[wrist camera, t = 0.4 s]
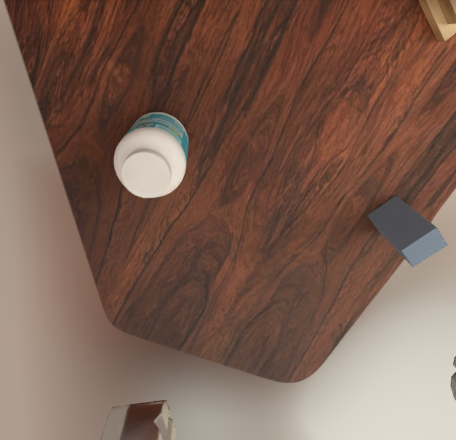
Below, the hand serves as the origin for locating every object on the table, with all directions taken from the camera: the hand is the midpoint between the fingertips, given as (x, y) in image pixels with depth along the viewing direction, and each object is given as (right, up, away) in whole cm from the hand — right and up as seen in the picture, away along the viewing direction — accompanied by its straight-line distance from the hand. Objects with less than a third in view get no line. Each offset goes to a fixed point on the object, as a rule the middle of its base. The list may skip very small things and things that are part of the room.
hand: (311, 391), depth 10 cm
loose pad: (+22, +6, +43) cm, 49 cm away
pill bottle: (-11, +15, +35) cm, 40 cm away
